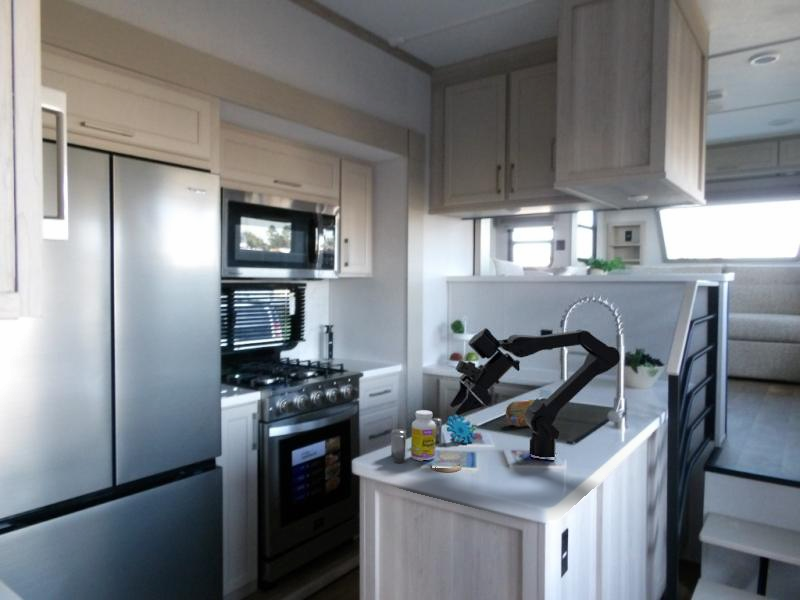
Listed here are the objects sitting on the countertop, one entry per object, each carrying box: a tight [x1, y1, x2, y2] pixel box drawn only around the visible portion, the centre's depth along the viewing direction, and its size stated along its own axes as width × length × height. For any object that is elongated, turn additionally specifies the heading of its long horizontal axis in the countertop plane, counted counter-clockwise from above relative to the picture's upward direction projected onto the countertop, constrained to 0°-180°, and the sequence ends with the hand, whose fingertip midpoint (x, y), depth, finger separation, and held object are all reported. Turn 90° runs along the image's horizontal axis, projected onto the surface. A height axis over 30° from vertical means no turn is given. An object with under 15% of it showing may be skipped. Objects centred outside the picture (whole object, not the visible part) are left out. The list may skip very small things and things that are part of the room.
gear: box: [445, 414, 477, 444], centre depth 176 cm, size 11×6×10 cm
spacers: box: [390, 417, 443, 464], centre depth 165 cm, size 10×24×7 cm, turn 159°
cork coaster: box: [431, 464, 462, 473], centre depth 151 cm, size 8×8×1 cm
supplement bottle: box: [410, 409, 436, 462], centre depth 158 cm, size 7×7×13 cm
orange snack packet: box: [505, 399, 536, 428], centre depth 196 cm, size 15×3×8 cm, turn 114°
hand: (453, 410), depth 159 cm, fingers open, 9 cm apart
